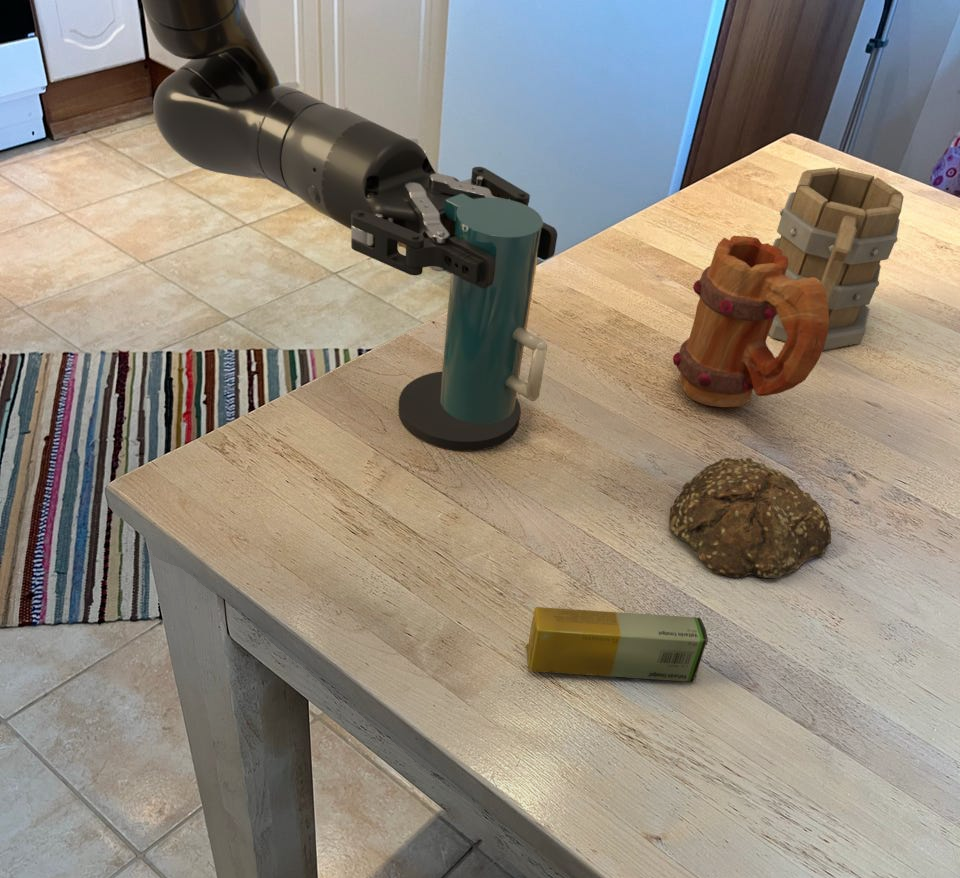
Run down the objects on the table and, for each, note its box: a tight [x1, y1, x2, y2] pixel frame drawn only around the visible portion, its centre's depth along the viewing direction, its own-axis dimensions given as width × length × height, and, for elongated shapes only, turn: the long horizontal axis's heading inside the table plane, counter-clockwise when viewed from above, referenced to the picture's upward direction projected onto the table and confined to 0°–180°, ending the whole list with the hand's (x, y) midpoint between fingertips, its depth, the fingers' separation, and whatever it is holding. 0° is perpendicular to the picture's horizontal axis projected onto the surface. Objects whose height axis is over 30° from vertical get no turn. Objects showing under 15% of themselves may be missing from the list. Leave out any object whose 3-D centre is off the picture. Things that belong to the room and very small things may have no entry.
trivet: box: [397, 371, 522, 452], centre depth 88 cm, size 11×11×1 cm
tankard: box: [768, 167, 904, 351], centre depth 99 cm, size 20×13×15 cm, turn 160°
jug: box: [440, 194, 548, 424], centre depth 73 cm, size 10×6×15 cm, turn 47°
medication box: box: [525, 606, 709, 683], centre depth 68 cm, size 12×3×4 cm, turn 91°
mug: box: [672, 235, 829, 408], centre depth 88 cm, size 15×8×15 cm, turn 27°
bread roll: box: [668, 457, 832, 579], centre depth 79 cm, size 13×12×5 cm
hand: (522, 259), depth 68 cm, fingers closed on jug, 6 cm apart
